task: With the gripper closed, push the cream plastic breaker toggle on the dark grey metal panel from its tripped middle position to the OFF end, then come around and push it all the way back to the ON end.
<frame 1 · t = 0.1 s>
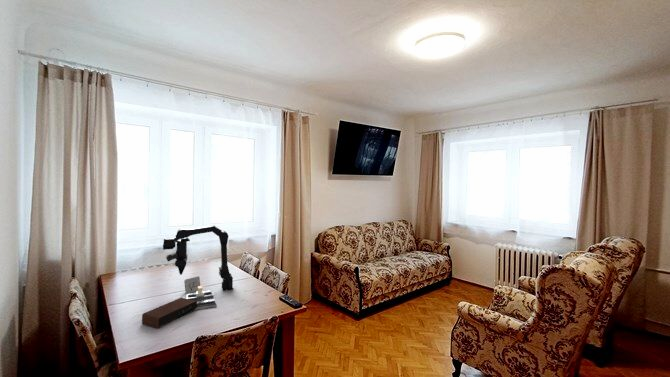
hand: (181, 272, 183), 15 cm above the table, fingers open, 9 cm apart
dark wooden block: (171, 317, 154), on the table
breaker lever: (200, 292, 175), point 5 cm above the table, slide at 0.0 cm
breaker panel: (199, 300, 175), on the table
rounded grey rails: (201, 308, 165), on the table
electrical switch: (191, 291, 189), on the table
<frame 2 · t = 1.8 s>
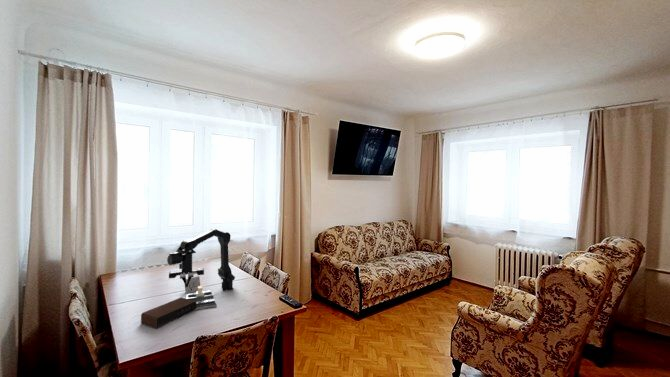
hand: (186, 287, 172), 9 cm above the table, fingers closed
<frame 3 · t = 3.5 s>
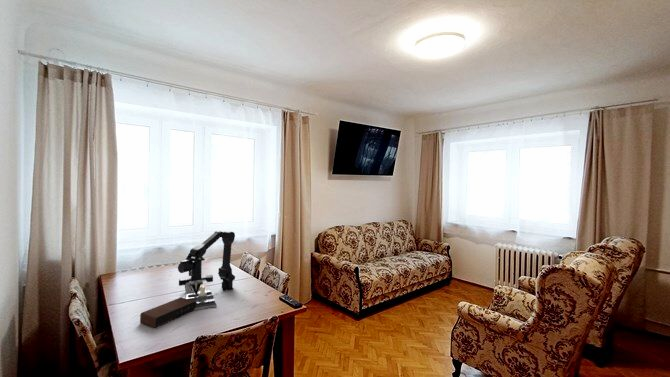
hand: (196, 293, 174), 4 cm above the table, fingers closed
dark wooden block: (169, 317, 154), on the table, touching breaker panel, rounded grey rails
breaker lever: (202, 291, 176), point 5 cm above the table, slide at -1.3 cm, touching gripper
everything else where it was.
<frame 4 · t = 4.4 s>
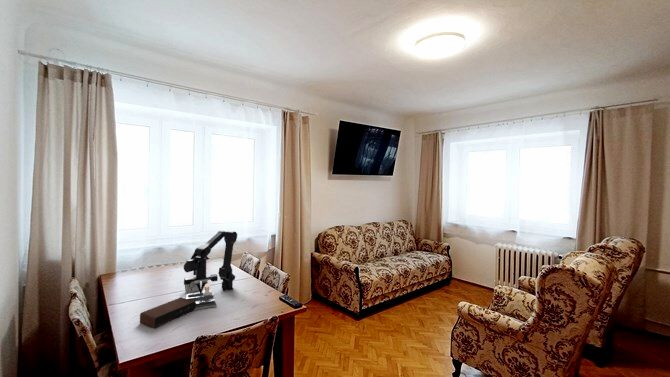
hand: (200, 293, 176), 5 cm above the table, fingers closed
dark wooden block: (169, 317, 154), on the table
breaker lever: (207, 291, 177), point 5 cm above the table, slide at -3.9 cm, touching gripper
everything else where it was.
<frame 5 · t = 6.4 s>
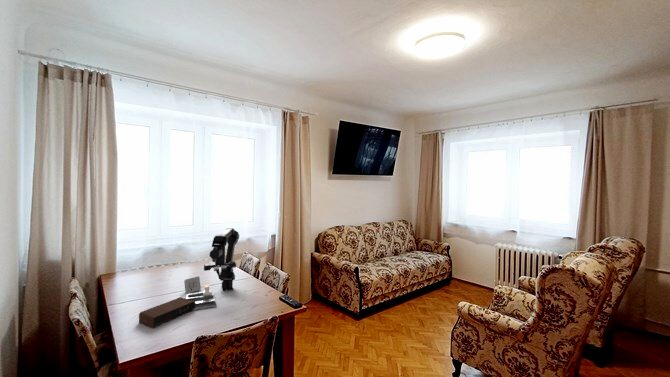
hand: (219, 279, 180), 12 cm above the table, fingers closed
dark wooden block: (168, 317, 154), on the table, touching breaker panel, rounded grey rails
breaker lever: (207, 291, 177), point 5 cm above the table, slide at -3.9 cm
everything else where it was.
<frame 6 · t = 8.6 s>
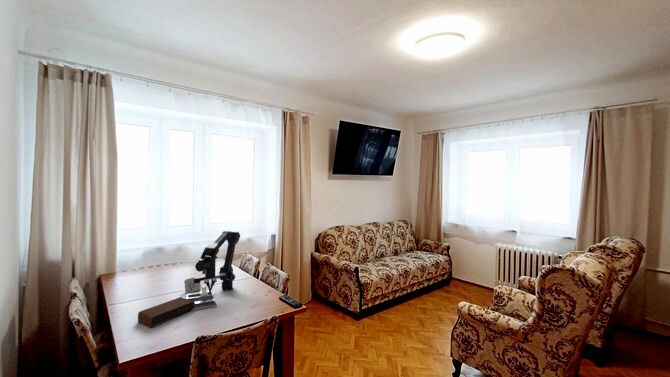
hand: (210, 291, 178), 5 cm above the table, fingers closed
dark wooden block: (167, 317, 154), on the table
breaker lever: (204, 291, 176), point 5 cm above the table, slide at -2.2 cm, touching gripper
everything else where it was.
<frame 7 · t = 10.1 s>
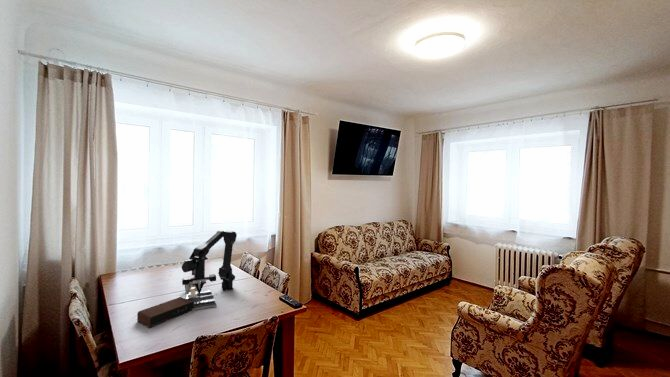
hand: (199, 293, 175), 5 cm above the table, fingers closed
breaker lever: (193, 292, 174), point 5 cm above the table, slide at 3.9 cm, touching gripper
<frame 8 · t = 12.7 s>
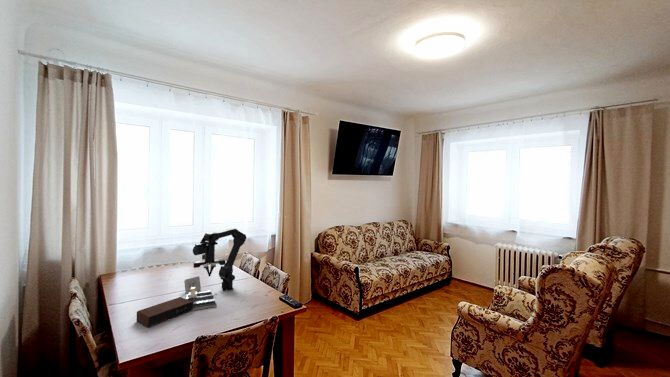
hand: (209, 276, 183), 12 cm above the table, fingers closed
breaker lever: (193, 292, 174), point 5 cm above the table, slide at 3.9 cm
at the end: breaker lever slide at 3.9 cm; breaker lever touching nothing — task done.
